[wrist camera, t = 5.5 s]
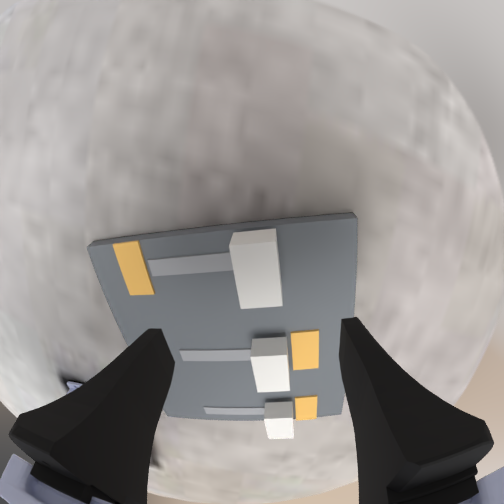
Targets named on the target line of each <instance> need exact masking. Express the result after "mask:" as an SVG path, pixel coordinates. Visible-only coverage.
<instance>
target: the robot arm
mask: <svg viewBox="0 0 504 504" xmlns="http://www.w3.org/2000/svg"><path fill="white" fill-rule="evenodd" d="M339 362H340V370H341V377H342V381H343V385H344V389H345V393H346V397H347V401H348V405H349V409H350V413H351V417H352V421H353V426H354V432H355V441H356V450H357V463H358V480H359V504H504V467H502V468H500V469H498V470H496V471H494V472H493V473H491V474H489V475H487V476H485V477H483V478H481V479H480V480H478V481H477V482H476V479H475V475H476V474H477V472H478V471H477V467H476V464H477V463H478V462H479V461H480V460H481V459H482V458H483V457H484V456H485V455H486V454H487V453H488V452H489V451H490V450H491V449H492V447H493V445H494V441H493V439H492V436H491V433H490V431H489V429H488V427H487V425H486V423H485V421H484V420H482V419H479V418H477V417H475V416H472V415H470V414H468V413H465V412H463V411H462V410H459V409H458V408H456V407H454V406H452V405H451V404H449V403H447V402H445V401H444V400H442V399H441V398H439V397H438V396H436V395H435V394H433V393H432V392H430V391H429V390H427V389H426V388H425V387H423V386H422V385H421V384H419V383H418V382H417V381H416V380H415V379H413V378H412V377H411V376H410V375H409V374H408V373H407V372H405V371H404V370H403V369H402V368H401V367H400V366H399V365H398V364H397V363H396V362H395V361H394V360H393V359H392V358H391V357H390V356H389V355H388V354H387V352H386V351H385V350H384V349H383V348H382V347H381V346H380V345H379V343H378V342H377V341H376V340H375V339H374V338H373V336H372V335H371V334H370V333H369V331H368V330H367V329H366V328H365V326H364V325H363V324H362V322H361V321H360V320H359V319H358V318H357V317H353V318H344V319H341V331H340V345H339ZM174 367H175V361H174V358H173V356H172V354H171V351H170V349H169V346H168V344H167V341H166V339H165V337H164V334H163V331H162V329H156V328H149V329H147V330H146V331H145V332H144V333H143V334H142V335H140V336H139V337H138V338H137V339H136V340H135V341H134V342H133V343H132V344H131V345H130V346H129V347H128V348H126V349H125V350H124V351H123V352H122V353H121V354H120V355H119V356H118V357H117V358H116V359H115V360H113V361H112V362H111V363H110V364H109V365H107V366H106V367H105V368H104V369H103V370H102V371H100V372H99V373H98V374H97V375H95V376H94V377H93V378H91V379H90V380H89V381H87V382H86V383H84V384H80V383H76V382H71V381H68V382H67V385H68V387H69V388H70V389H69V391H68V392H67V394H66V395H65V396H63V397H61V398H60V399H58V400H56V401H53V402H51V403H49V404H47V405H45V406H42V407H40V408H37V409H34V410H31V411H28V412H25V413H22V414H20V415H19V417H18V418H17V420H16V422H15V424H14V425H13V427H12V429H11V431H10V433H9V437H10V438H11V440H12V441H13V442H14V443H15V444H16V445H17V446H18V447H19V448H21V450H23V451H24V452H25V453H26V454H27V455H28V456H30V457H31V458H32V459H33V460H34V461H35V464H34V466H33V465H31V464H30V463H28V462H27V461H25V460H24V459H22V458H20V457H18V456H17V455H15V454H12V456H11V458H10V460H9V462H8V464H7V466H6V468H5V471H4V472H3V475H2V477H1V479H0V496H1V497H2V498H3V499H5V500H6V501H7V502H8V503H10V504H147V484H148V473H149V464H150V457H151V450H152V445H153V440H154V435H155V431H156V427H157V424H158V421H159V418H160V415H161V412H162V409H163V406H164V403H165V400H166V398H167V395H168V392H169V389H170V386H171V382H172V377H173V373H174Z"/></svg>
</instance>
